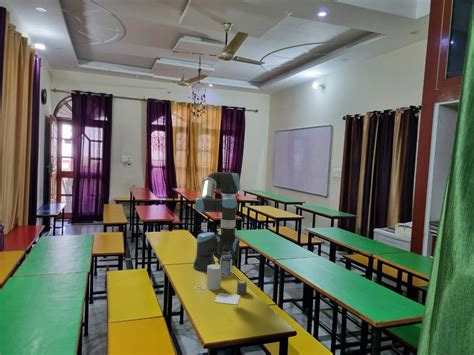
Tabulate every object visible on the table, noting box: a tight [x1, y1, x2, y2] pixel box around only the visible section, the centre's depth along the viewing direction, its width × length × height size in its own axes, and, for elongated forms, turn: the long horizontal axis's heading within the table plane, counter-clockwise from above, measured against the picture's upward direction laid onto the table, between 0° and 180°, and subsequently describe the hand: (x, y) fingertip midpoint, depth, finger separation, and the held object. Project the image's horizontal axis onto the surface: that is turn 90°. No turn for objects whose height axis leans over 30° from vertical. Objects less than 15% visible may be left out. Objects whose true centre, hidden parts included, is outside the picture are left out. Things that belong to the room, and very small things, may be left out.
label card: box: [194, 286, 205, 291], centre depth 192 cm, size 3×5×1 cm, turn 82°
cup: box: [206, 264, 222, 291], centre depth 194 cm, size 8×8×12 cm
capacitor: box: [221, 257, 232, 277], centre depth 178 cm, size 5×5×8 cm
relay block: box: [236, 280, 248, 296], centre depth 188 cm, size 5×5×6 cm
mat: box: [213, 292, 242, 306], centre depth 179 cm, size 12×12×1 cm
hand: (225, 270), depth 178 cm, fingers closed on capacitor, 5 cm apart
